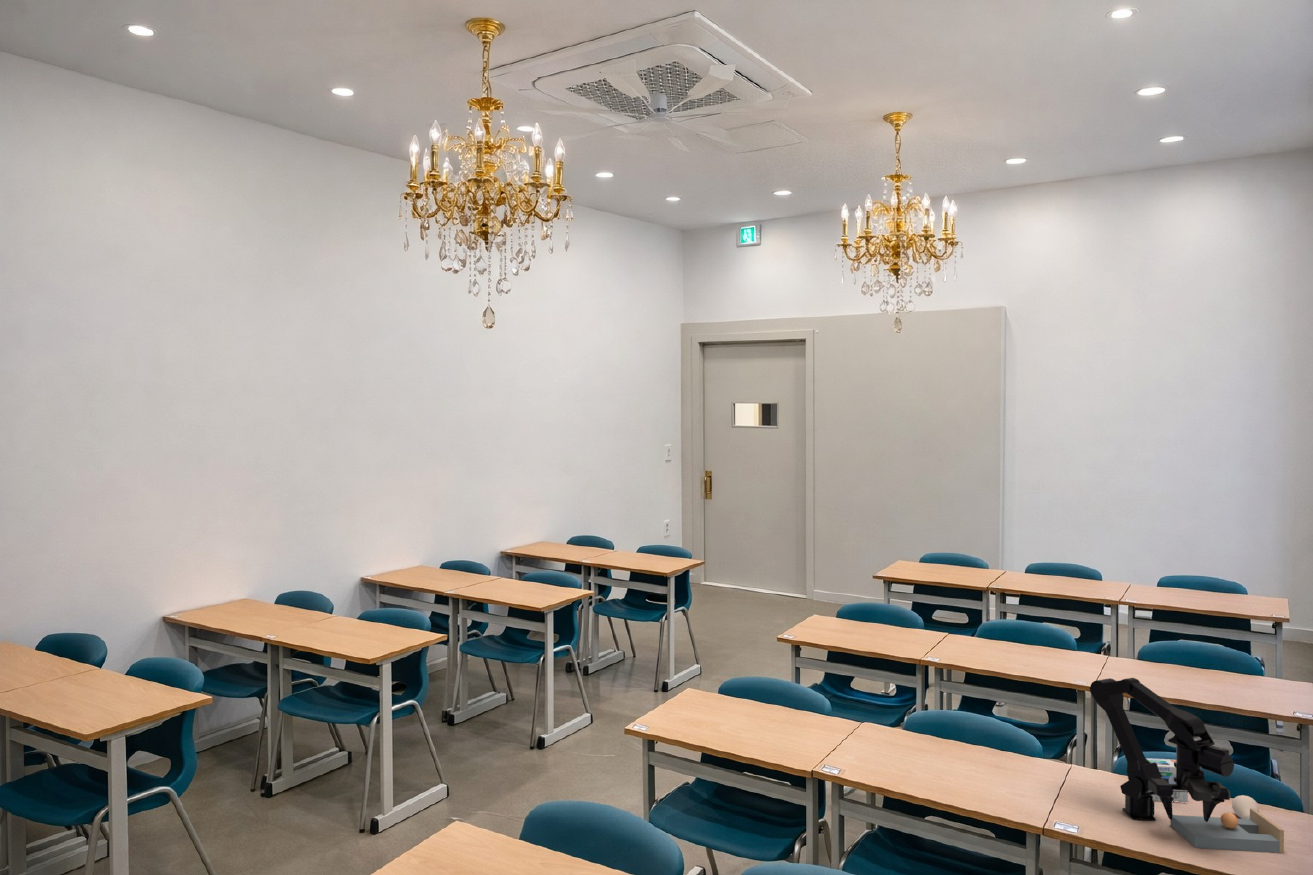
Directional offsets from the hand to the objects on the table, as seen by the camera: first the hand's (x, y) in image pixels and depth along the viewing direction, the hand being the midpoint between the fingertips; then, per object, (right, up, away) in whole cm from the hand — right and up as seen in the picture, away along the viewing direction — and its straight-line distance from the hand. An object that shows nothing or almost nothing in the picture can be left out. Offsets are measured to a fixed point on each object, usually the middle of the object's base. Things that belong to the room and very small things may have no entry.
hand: (1188, 819), depth 228 cm
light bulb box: (+9, -5, +25) cm, 27 cm away
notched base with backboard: (+10, -5, -1) cm, 11 cm away
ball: (+11, 0, -1) cm, 11 cm away
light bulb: (+23, -5, +10) cm, 26 cm away
